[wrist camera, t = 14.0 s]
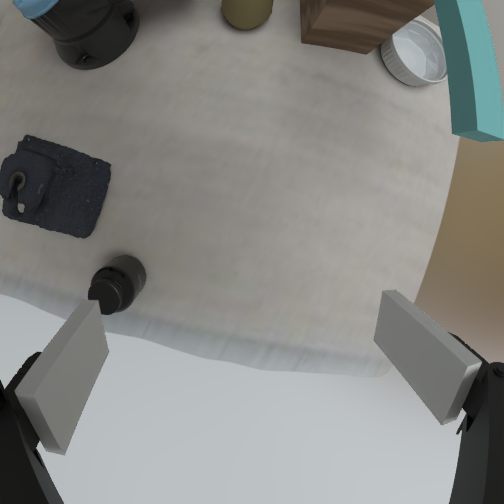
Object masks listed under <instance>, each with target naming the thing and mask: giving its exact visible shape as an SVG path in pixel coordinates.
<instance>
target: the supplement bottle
mask: <svg viewBox="0 0 504 504" xmlns="http://www.w3.org/2000/svg"><path fill="white" fill-rule="evenodd" d="M145 281H146V274H145V270H144V268H143V266H142V264H141V263H140V262H139V261H138V260H137V259H135V258H133V257H131V256H119V257H117V258H115V259H113V260H112V261H110V262H109V263H108V264H106V265H105V266H103V267H102V268H101V269H99V270H98V271H97V272H96V273H95V274H94V276H93V278H92V280H91V287H90V288H89V291H88V292H89V293H88V300H98V301H99V306H100V312H101V314H102V315H103V314H104V315H109V314H112V313H116V312H121V311H124V310H126V309H127V308H128V307H129V306H130V305H131V304H132V302H133V301H134V300H135V298H136V297H137V295H138V294H139V293H140V291H141V290H142V288H143V287H144V284H145Z"/></svg>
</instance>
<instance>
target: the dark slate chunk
mask: <svg viewBox="0 0 504 504" xmlns="http://www.w3.org/2000/svg"><path fill="white" fill-rule="evenodd" d="M110 166H111V164H109V163H107V162H104V161H103V160H101V159H97V158H92V157H90V156H89V155H86V154H84V153H80V152H78V151H76V150H74V149H71V148H68V147H66V146H60V145H59V144H55V143H53V142H49V141H46V140H42V139H40V138H36V137H34V136H30V135H25V137H24V139H23V140H22V141H19V142H18V146H17V150H16V153H15V154H11V155H10V156H9V157H7V158H5V159H4V161H3V163H2V165H1V170H0V195H1V196H2V198H4V200H3V209H2V212H3V214H4V216H6V217H8V218H10V219H14V220H17V221H20V222H24V223H29V224H32V225H37V226H39V227H40V228H44V229H46V230H50V231H52V230H53V231H54V230H55V231H57V232H62V233H65V234H70V235H72V236H74V237H77V238H79V237H81V238H86V237H88V236H89V235H90V234H91V232H92V231H93V228H94V225H95V222H96V220H97V217H98V216H99V214H100V210H101V204H102V202H103V200H104V198H105V196H106V192H107V187H108V183H109V181H110V175H111V172H110ZM18 203H22V204H24V205H25V208H24V212H23V213H20V212H19V210H18V207H17V205H18Z"/></svg>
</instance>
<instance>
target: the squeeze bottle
mask: <svg viewBox="0 0 504 504" xmlns="http://www.w3.org/2000/svg"><path fill="white" fill-rule="evenodd" d="M272 6H273V0H222V7H221V10H222V12H223V14H224V16H225V18H226V19H227V20H228V21H229V23H230V24H231V25H233V26H234V27H236V28H238V29H241V30H249V29H253V28H255V27H257V26H258V25H260V24H261V23H263V22H264V21H266V20H267V19H268V18H269V16H270V15H271V13H272Z"/></svg>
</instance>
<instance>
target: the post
mask: <svg viewBox="0 0 504 504" xmlns="http://www.w3.org/2000/svg"><path fill="white" fill-rule="evenodd" d="M434 4H435V3H434V0H300V13H301V43H304V44H312V45H318V46H325V47H331V48H336V49H342V50H347V51H352V52H357V53H362V54H366V55H367V54H368V53H369V52H370V51H372V50H373V49H374V48H376V47H377V46H378V45H379V44H381V43H382V42H383V41H385V40H386V39H387V38H389V37H390V36H391V35H393V34H394V33H395V32H397V31H398V30H399V29H401V28H402V27H403V26H405V25H406V24H407V23H409V22H410V21H412V20H413V19H414V18H416V17H417V16H419V15H420V14H421V13H423V12H424V11H426V10H427V9H429V8H430V7H431V6H433V5H434Z"/></svg>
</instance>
